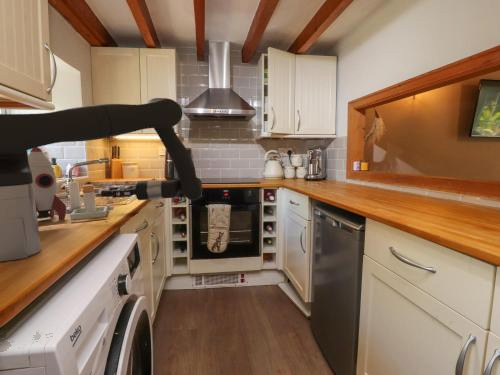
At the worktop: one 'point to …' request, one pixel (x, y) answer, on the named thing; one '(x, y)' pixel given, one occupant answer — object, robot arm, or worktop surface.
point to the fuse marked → (89, 198)
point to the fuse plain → (74, 195)
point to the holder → (68, 210)
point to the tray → (88, 214)
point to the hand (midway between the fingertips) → (105, 192)
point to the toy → (45, 186)
